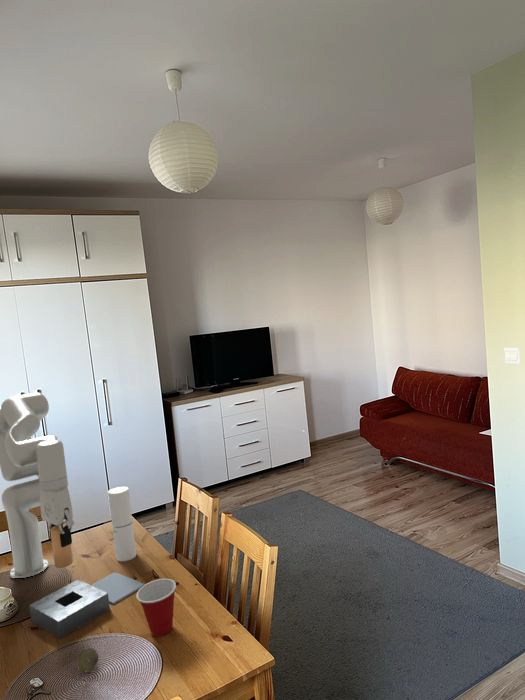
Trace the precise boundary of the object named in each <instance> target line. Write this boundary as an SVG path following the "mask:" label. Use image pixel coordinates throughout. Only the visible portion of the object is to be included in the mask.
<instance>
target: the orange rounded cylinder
mask: <svg viewBox="0 0 525 700" xmlns="http://www.w3.org/2000/svg"><path fill="white" fill-rule="evenodd" d="M65 526H66V523H65V524H63V528H64V527H65ZM50 532H51V539H52V543H51V546H52V554H53V555H52V556H53V561H54V566H55V568H57V569H63V568H66V567H69V566H71V565H72V564H73V562H74V559H73V552H72V551H73V549H72V543H71V544H69V545H67V546H65V547H61V541H60V534H61V531H60V528H59V526H57V525H56V526H54V527H52V528H51V529H50Z"/></svg>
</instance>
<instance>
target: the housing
mask: <svg viewBox="0 0 525 700" xmlns="http://www.w3.org/2000/svg"><path fill="white" fill-rule="evenodd" d="M91 585H92V584H89V583H87V582H84V581H82V580H80V579H76V580H75V581H73V582H71V583H69V584H67V585H65V586H63V587H61V588H59V589H57V590H56V591H53V592H51V593H50V594H48V595H46V596H44V597H42V598H41V599H39V600H37V601H35V602H33V603H31V604H29V612H30V613H29V614H30V621H31V622H32V623H34V624H35V625H37V626H38V627H40V628H42V629H44V630H46V631H47V632H49V633H50V634H51V635H53V636H56V638H58V639H60V640H61V639H63V638H64V637H66V636H68V635H69V634H71V633H73V632H75V631H76V630H78V629H79V628H81V627H82V626H85V625H86V624H87V623H89V622H91V621H92V620H95V619H96V618H97V617H99V616H101V615H103V614H104V613H106V612H108V611H109V610H111V607H110V606H111V605H110V603H109V597H108V593H107V592H104V591H102V590H100V589H98V588H96V587H93V586H91Z"/></svg>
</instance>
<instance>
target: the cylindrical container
mask: <svg viewBox="0 0 525 700" xmlns="http://www.w3.org/2000/svg"><path fill="white" fill-rule="evenodd" d="M129 489H130V488H129V487H128V486H117V487H114V488H111V489H108V491H107V494H108V503H109V510H110V517H111V525H112V526H111V527H112V536H113V544H114V551H115V559H116V561H117V562H127V561H131V560H133V559H134V558H136V556H137V550H136V549H137V548H136V541H135V532H134V525H133V517H132V514H133V513H132V506H131V505H132V504H131V499H130V491H129Z"/></svg>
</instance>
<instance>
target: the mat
mask: <svg viewBox="0 0 525 700" xmlns="http://www.w3.org/2000/svg"><path fill="white" fill-rule="evenodd" d="M90 585H91V586H93V587H96V588H98V589H100V590H102V591H104V592H107V593H108V597H109V604H110V605H115V604H117V603H119V602H121V601H122V600H124V599H126V598H127V597H129V596H130V595H132V594H133V593H135V592H138V591H139V589H140V588H141V587H143V586H144V585H145V583H143V582H140V581H138V580H135V579H134V578H130V577H128V576H126V575H123V574H120V573H118V572H116V571H115V572H112V573H110V574H108V575H107V576H106V575H105V576H104V577H103V578H101V579H99V580H97V581H95V582H94V583H92V584H90Z"/></svg>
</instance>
